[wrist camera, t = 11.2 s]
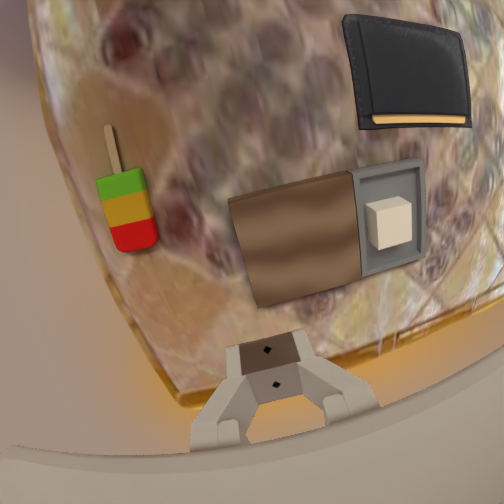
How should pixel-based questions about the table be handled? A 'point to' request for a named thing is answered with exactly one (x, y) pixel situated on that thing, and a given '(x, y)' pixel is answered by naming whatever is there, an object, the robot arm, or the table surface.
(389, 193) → the box
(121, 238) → the popsicle
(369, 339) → the table surface
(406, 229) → the cream rectangular block
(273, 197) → the ramp
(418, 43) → the wallet
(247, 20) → the table surface
